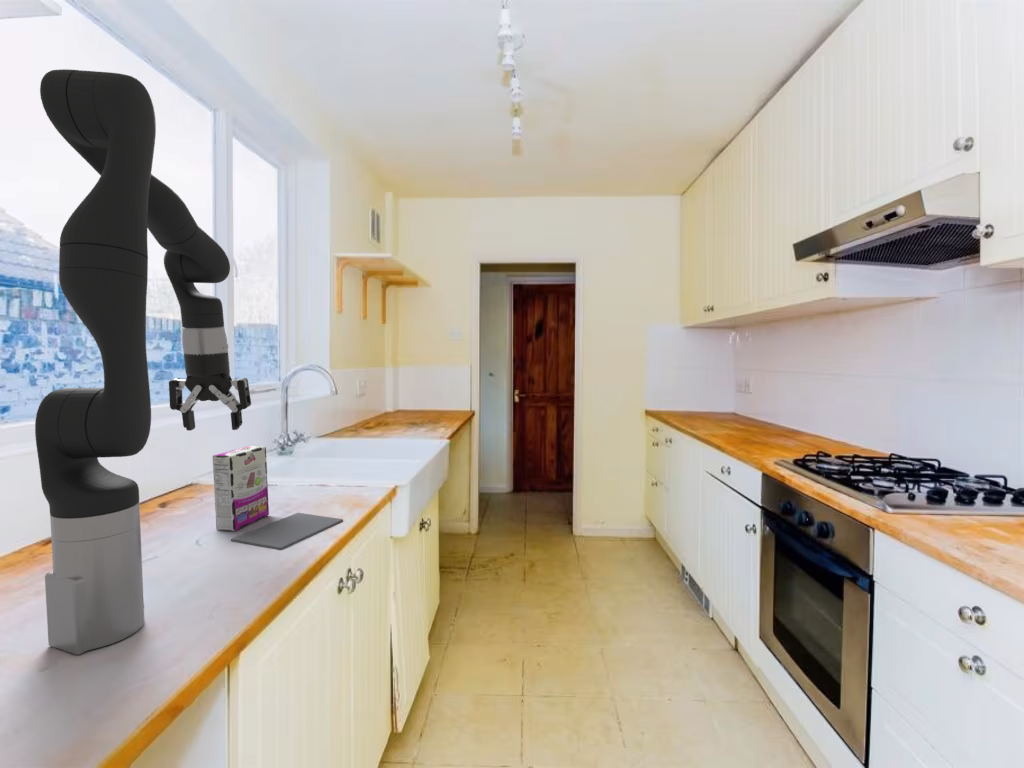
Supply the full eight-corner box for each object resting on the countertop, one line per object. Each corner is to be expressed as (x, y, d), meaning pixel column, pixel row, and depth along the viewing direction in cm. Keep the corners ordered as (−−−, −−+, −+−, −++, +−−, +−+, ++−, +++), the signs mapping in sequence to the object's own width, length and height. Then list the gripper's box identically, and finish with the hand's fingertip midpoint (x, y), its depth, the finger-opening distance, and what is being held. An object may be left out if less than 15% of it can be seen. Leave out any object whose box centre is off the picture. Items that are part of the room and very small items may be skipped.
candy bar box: (250, 514, 119) (248, 445, 118) (269, 515, 118) (267, 446, 117) (213, 530, 108) (211, 454, 107) (234, 532, 107) (231, 455, 106)
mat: (280, 549, 98) (280, 547, 98) (231, 540, 102) (230, 538, 102) (343, 520, 114) (343, 519, 114) (297, 514, 119) (297, 512, 119)
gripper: (156, 352, 95) (166, 435, 98) (237, 352, 97) (244, 434, 100) (176, 347, 102) (185, 424, 105) (251, 347, 104) (257, 423, 107)
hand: (213, 429), depth 103 cm, fingers open, 8 cm apart
